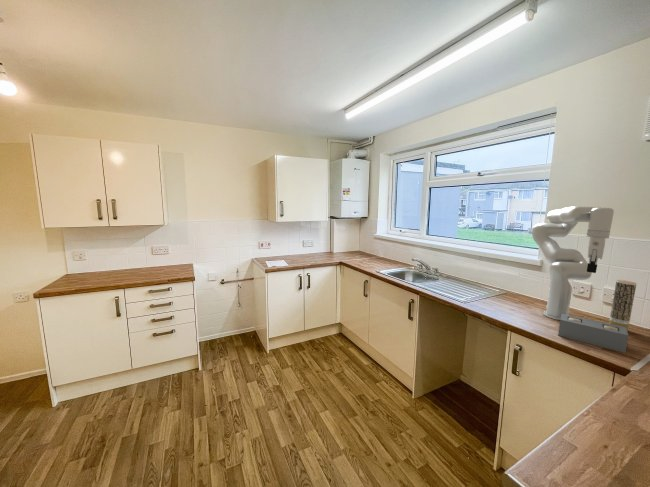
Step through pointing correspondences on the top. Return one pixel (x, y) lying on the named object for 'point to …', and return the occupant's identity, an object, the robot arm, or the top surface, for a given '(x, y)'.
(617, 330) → the peg outer
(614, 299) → the bark textured peg
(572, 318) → the peg inner
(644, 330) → the top surface
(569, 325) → the block
